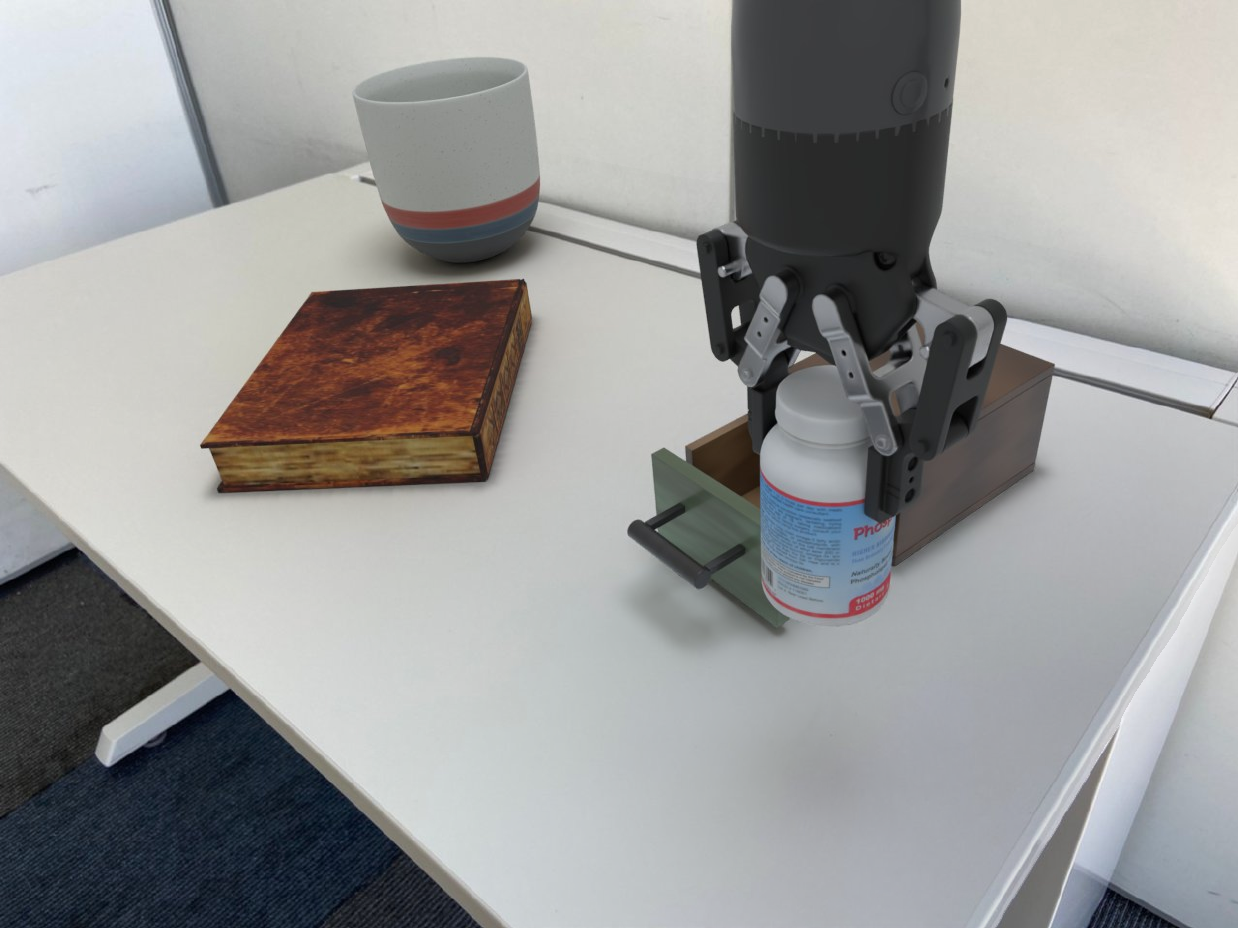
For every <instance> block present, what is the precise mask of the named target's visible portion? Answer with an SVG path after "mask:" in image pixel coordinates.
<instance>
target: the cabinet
mask: <svg viewBox="0 0 1238 928" xmlns="http://www.w3.org/2000/svg"><path fill="white" fill-rule="evenodd" d="M915 325H916V328H917V331H918V334H919V338H920V341H921V344H922V346H924V332H923V329H922V327H921V325H920V324H919V323H918V322H916V323H915ZM889 359H890V350H888V351H887V352H885V353H884V354H882V355H880V356H878V357H876V358H874V359H873V360H871V361H869V364H870V367H871V370H872V372H874V371H875V370H877V369H879V368H881V367H883V366H885V365H886V364H887V363H888V361H889ZM926 360H927V361H928V359H926ZM824 365H832V364H830V363H828V362H827V361H826V360H825V359H823V358H822V357H821V356H819V355H818V354H817V353H815V352H814V353H813V354H811V355H809V356H807V357H805V358H803V359H801V360H799V361H796V362H795V363H794V365H793V366H792V367H790V368H788V372H789V373H791V374H792V373H794V372H796V371H799V370H802V369H805V368H809V367H815V366H824ZM1055 367H1056V364H1055V363H1053V362H1050V361H1049V360H1046V359H1043V358H1040V357H1037V356H1035V355H1032V354H1030V353H1027V352H1025V351H1023V350H1019V349H1016V348H1014V347H1012V346H1008V345H1006V344H1003V343H1000V347H999V350H998V354H997V357H996V361H995V364H994V367H993V371H992V374H991V378H990V381H989V385H988V388H987V392H986V395H985V398H984V402H983V405H982V409H981V412H980V416H979V419H978V422H977V426H976V429H975V431H974V433H972V434H971V435H969V436H968V437H966V438H965V439H963V440H962V441H960V442H959V443H957V444H955V445H954V446H952V447H951V448H949V449H948V450H946V451H945V452H943V453H941V454H940V455H938V456H937V457H935V458H934V459H932V460H930V461H924V464H923V473H922V483H921V493H920V496H919V498H918V499H917V501H916V502H915V503H914V504H912V505H911V506H909V507H908V508H906V509H905V510H903V511H902V512H900V513H899V514H897V515H896V517H895V530H894V543H893V554H892V564H891V566H894V567H896V566H897V565H899V564H900V563H901V562H903V561H904V560H906V559H907V558H909V557H910V556H911V555H913V554H914V553H916V552H917V551H919V550H920V549H922V548H923V547H925V546H926V545H928V544H929V543H930V542H932V541H934V540H935V539H936V538H938V537H939V536H941V535H942V534H943V533H945V532H946V531H948V530H949V529H951V528H952V527H954V526H955V525H957V524H958V523H960V522H961V521H962V520H964V519H965V518H967V517H968V516H970V515H971V514H973V513H974V512H976V511H977V510H978V509H980V508H982V507H983V506H984V505H986V504H987V503H989V502H990V501H992V500H993V499H995V497H997V496H999V495H1000V494H1001V493H1003V492H1005V491H1006V490H1007V489H1009V488H1010V487H1011V486H1013V485H1015V484H1016V483H1018V482H1019V481H1020V480H1022V479H1023V478H1024V477H1026V476H1028V475H1029V474H1031V473H1032V472H1033V471H1034V470H1035V467H1036V461H1037V457H1038V451H1039V445H1040V442H1041V436H1042V432H1043V426H1044V421H1045V416H1046V411H1047V406H1048V401H1049V398H1050V397H1049V396H1050V391H1051V387H1052V382H1053V377H1054V372H1055ZM923 378H924V377H923ZM890 400H891V404H892V407H893V410H894V413H895V416H897V415H899V414H901V411H900V408H899V405H898V402H897V399H896V396H895V393H894V391H893V392H892V393H891V397H890Z"/></svg>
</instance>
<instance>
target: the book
mask: <svg viewBox="0 0 1238 928" xmlns="http://www.w3.org/2000/svg"><path fill="white" fill-rule="evenodd" d="M528 290H529V289H528V284H527V282H526V280H525V278H522V279H520V278H515V279H514V278H512V279H495V280H481V281H466V282H465V281H464V282H450V283H449V282H447V283H433V284H420V285H419V284H416V285H403V286H402V285H401V286H386V287H385V286H383V287H369V288H353V289H339V290H338V289H337V290H335V289H334V290H319V291H311V292H310V293H309V295H308V296H307V298H306V299H305V301H304V302H303V303H302V304H301V306H300V307H299V309H298V310H297V311H296V313H295V314H294V316H293V317H292V319H291V320H290V321H289V322H288V324H286V327H285V328H284V329H283V331H282V332H281V333H280V335H279V336H278V337H277V338H276V340H275V341H274V343H273V344H272V346H271V347H270V348H269V350H268V351H267V353H266V354H265V355H264V357H263V358H262V359H261V360H260V362H259V363H258V365H257V366H256V368H255V369H254V370H253V371H252V373H251V374H250V376H249V377H248V379H246V381H245V382H244V383H243V386H242V387H241V388H240V389H239V391H238V392H237V394H235V396H234V398H233V399H232V400H231V402H230V403H229V404H228V406H227V407H226V409H225V410H224V411H223V413H222V414H221V415H220V417H219V418H218V419H217V421H216V423H214V425H213V427H212V428H211V429H210V431H209V432H208V434H206V436H205V438H204V439H203V440H202V442H201V443H200V444H199V447H200V449H203V450H204V449H206V450H207V449H208V450H209V452H210V454H211V457H212V459H213V462H214V464H215V467H216V469H217V471H218V474H219V476H220V478H221V479H220V480H221V481H220V483H219V484H218V485H217V487H216V491H217V493H239V492H243V493H244V492H263V491H265V492H266V491H267V492H268V491H287V490H289V491H291V490H311V489H312V490H313V489H314V490H315V489H335V488H336V489H337V488H338V489H339V488H359V487H361V488H362V487H384V486H406V485H410V486H411V485H430V484H452V483H453V484H455V483H456V484H457V483H480V482H481V481H483V482H487V479H488V477H489V474H490V470H491V467H492V463H493V460H494V456H495V452H496V449H497V446H498V442H499V438H500V434H501V431H502V428H503V424H504V420H505V417H506V415H507V414H506V413H507V410H508V406H509V402H510V399H511V395H512V392H513V388H514V386H515V381H516V377H517V374H518V371H519V367H520V363H521V359H522V357H523V352H524V349H525V345H526V342H527V338H528V335H529V332H530V327H531V324H532V320H533V314H532V309H531V303H530V297H529V296H530V295H529V291H528Z"/></svg>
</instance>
